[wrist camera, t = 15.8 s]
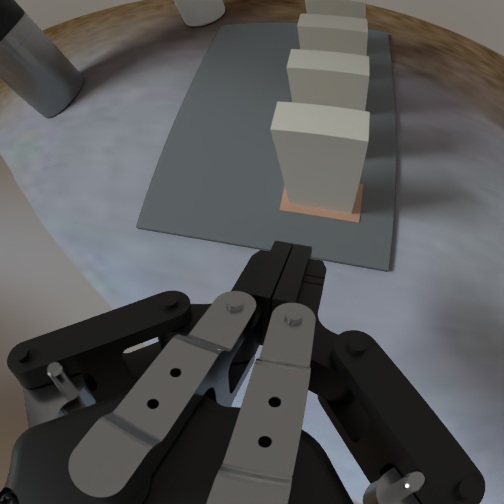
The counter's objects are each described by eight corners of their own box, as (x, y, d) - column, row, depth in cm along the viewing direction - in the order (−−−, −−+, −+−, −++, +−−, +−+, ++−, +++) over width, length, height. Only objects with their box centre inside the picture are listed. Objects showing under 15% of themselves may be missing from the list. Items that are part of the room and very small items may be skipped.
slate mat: (138, 228, 27) (135, 226, 27) (222, 27, 33) (221, 24, 33) (386, 271, 22) (388, 270, 21) (387, 34, 28) (387, 31, 27)
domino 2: (307, 109, 26) (297, 26, 17) (309, 95, 27) (300, 13, 17) (359, 116, 25) (367, 32, 16) (360, 101, 25) (367, 19, 16)
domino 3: (299, 151, 25) (286, 67, 16) (302, 133, 26) (291, 48, 16) (356, 159, 24) (369, 75, 15) (358, 141, 24) (369, 56, 15)
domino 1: (313, 75, 27) (304, -3, 18) (315, 64, 28) (306, -12, 18) (361, 81, 26) (365, 2, 17) (361, 69, 26) (364, -7, 17)
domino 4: (289, 204, 24) (270, 129, 15) (293, 182, 25) (277, 101, 15) (351, 214, 23) (368, 141, 14) (354, 191, 23) (369, 111, 14)
